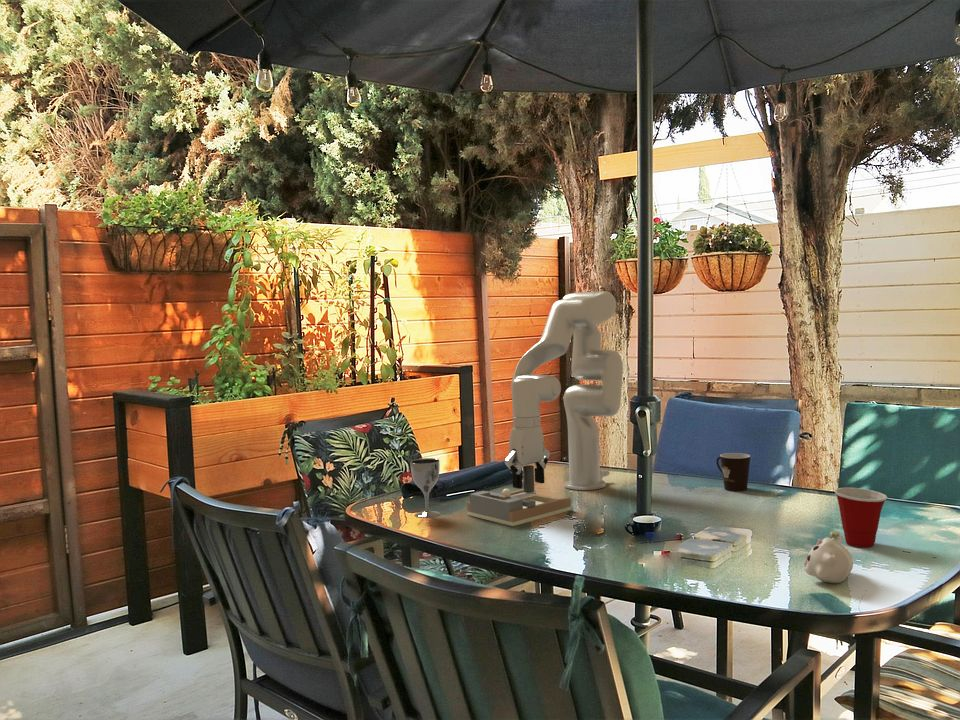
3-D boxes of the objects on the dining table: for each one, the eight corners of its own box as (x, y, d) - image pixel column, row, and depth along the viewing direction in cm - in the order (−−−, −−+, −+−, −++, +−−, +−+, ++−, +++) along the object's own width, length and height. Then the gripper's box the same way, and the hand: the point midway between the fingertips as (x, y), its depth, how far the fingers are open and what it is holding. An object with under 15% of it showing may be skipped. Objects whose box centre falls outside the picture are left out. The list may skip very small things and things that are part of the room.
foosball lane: (525, 500, 241) (524, 480, 241) (570, 510, 228) (570, 488, 227) (467, 514, 227) (466, 493, 226) (512, 526, 213) (511, 503, 213)
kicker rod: (512, 498, 238) (511, 461, 237) (558, 508, 224) (556, 469, 224) (481, 506, 230) (480, 467, 229) (527, 516, 217) (525, 476, 216)
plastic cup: (887, 553, 179) (886, 498, 179) (832, 548, 184) (832, 495, 184) (888, 540, 189) (888, 488, 188) (837, 535, 194) (836, 485, 193)
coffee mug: (754, 491, 241) (754, 457, 240) (725, 492, 241) (724, 458, 240) (742, 483, 252) (742, 450, 252) (714, 484, 253) (713, 451, 252)
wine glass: (443, 510, 232) (441, 457, 232) (439, 518, 225) (437, 463, 224) (415, 511, 233) (413, 458, 232) (410, 518, 225) (408, 463, 224)
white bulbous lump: (830, 522, 171) (822, 532, 158) (866, 546, 168) (861, 558, 155) (804, 559, 173) (794, 572, 160) (840, 583, 170) (833, 599, 157)
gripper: (539, 417, 237) (541, 478, 238) (494, 425, 225) (496, 488, 226) (558, 419, 231) (560, 481, 232) (513, 427, 220) (515, 492, 221)
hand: (528, 485), depth 229 cm, fingers open, 8 cm apart
